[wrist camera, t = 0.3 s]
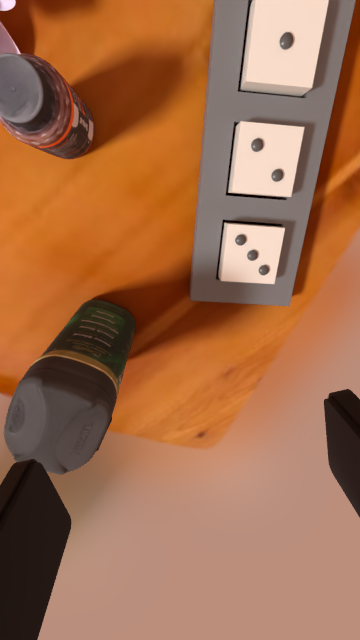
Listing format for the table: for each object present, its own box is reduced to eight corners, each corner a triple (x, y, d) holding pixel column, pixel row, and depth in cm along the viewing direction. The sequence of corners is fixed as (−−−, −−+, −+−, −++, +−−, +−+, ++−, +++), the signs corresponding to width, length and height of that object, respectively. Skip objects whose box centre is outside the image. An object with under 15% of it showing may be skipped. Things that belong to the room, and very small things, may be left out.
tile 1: (249, 7, 26) (257, -12, 24) (315, 15, 27) (330, -3, 24) (239, 90, 29) (246, 80, 26) (300, 96, 29) (313, 87, 27)
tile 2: (235, 127, 30) (241, 120, 27) (294, 132, 30) (305, 126, 28) (227, 192, 32) (232, 192, 29) (282, 197, 32) (291, 196, 30)
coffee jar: (83, 289, 37) (10, 366, 20) (143, 312, 38) (124, 404, 21) (61, 353, 40) (-18, 467, 23) (118, 372, 42) (82, 494, 24)
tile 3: (223, 222, 33) (228, 224, 31) (277, 226, 33) (285, 228, 31) (217, 275, 35) (221, 281, 33) (267, 278, 36) (274, 284, 33)
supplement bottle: (107, 120, 31) (75, 79, 20) (77, 172, 32) (34, 159, 22) (54, 77, 29) (-10, 8, 19) (26, 133, 31) (-48, 99, 20)
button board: (216, -28, 27) (221, -50, 24) (346, -12, 27) (362, -32, 25) (189, 294, 38) (190, 300, 35) (282, 299, 39) (289, 306, 36)
